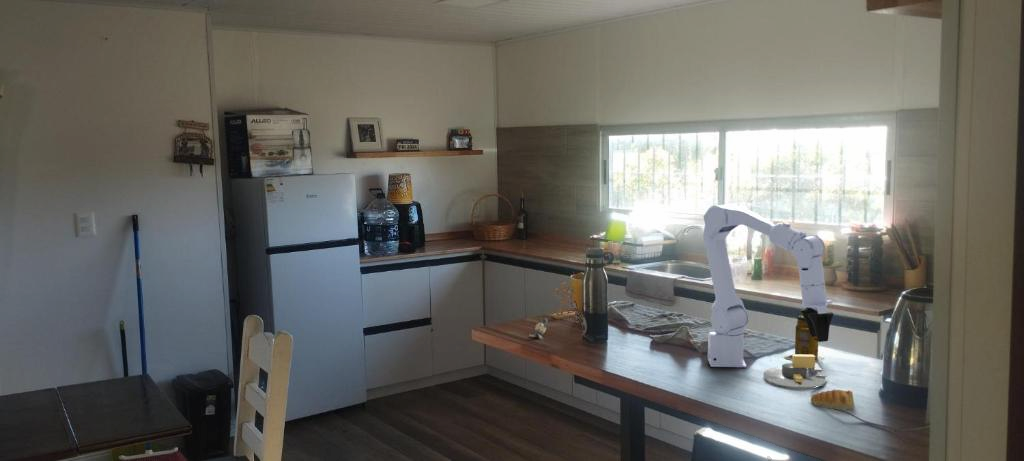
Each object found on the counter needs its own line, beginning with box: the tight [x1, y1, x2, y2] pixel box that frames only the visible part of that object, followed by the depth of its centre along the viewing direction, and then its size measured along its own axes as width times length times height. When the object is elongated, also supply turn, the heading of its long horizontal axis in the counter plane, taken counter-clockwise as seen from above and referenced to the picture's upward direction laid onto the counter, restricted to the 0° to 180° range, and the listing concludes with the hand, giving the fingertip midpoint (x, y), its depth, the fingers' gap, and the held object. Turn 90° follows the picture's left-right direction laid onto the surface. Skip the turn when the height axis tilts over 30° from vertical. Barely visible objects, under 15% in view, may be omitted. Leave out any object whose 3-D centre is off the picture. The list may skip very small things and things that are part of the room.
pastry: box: [810, 389, 855, 411], centre depth 183 cm, size 9×7×4 cm
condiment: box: [783, 314, 825, 362], centre depth 218 cm, size 7×8×12 cm
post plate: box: [763, 362, 828, 390], centre depth 201 cm, size 16×15×3 cm
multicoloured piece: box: [781, 353, 816, 382], centre depth 199 cm, size 8×9×5 cm
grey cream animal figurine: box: [529, 317, 549, 340], centre depth 249 cm, size 5×5×6 cm
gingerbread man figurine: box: [551, 282, 576, 320], centre depth 274 cm, size 9×4×12 cm, turn 117°
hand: (819, 338), depth 195 cm, fingers open, 7 cm apart
